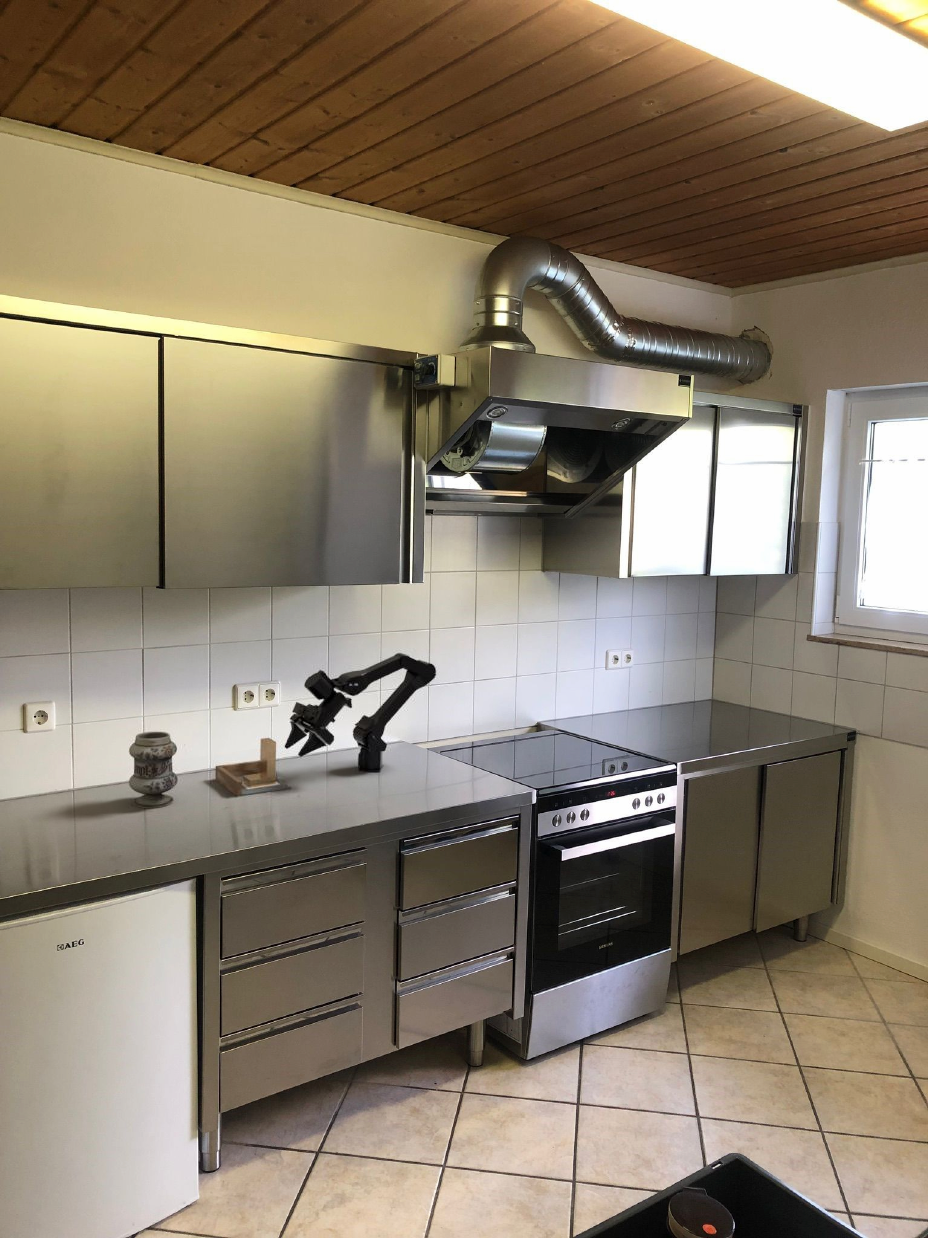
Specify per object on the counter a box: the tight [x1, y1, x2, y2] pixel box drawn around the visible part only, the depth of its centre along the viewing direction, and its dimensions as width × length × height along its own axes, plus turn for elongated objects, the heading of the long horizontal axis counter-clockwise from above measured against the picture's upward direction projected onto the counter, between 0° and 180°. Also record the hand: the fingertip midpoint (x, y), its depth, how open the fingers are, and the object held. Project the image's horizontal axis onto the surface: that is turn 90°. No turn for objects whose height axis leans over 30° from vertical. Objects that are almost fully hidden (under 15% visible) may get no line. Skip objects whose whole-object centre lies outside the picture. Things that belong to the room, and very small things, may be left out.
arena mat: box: [237, 776, 292, 797], centre depth 268 cm, size 14×16×1 cm
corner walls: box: [215, 759, 260, 797], centre depth 268 cm, size 15×17×4 cm
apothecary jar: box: [128, 731, 178, 809], centre depth 249 cm, size 12×12×18 cm
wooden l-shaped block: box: [243, 737, 277, 787], centre depth 267 cm, size 8×5×12 cm, turn 124°
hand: (292, 751), depth 272 cm, fingers open, 9 cm apart
